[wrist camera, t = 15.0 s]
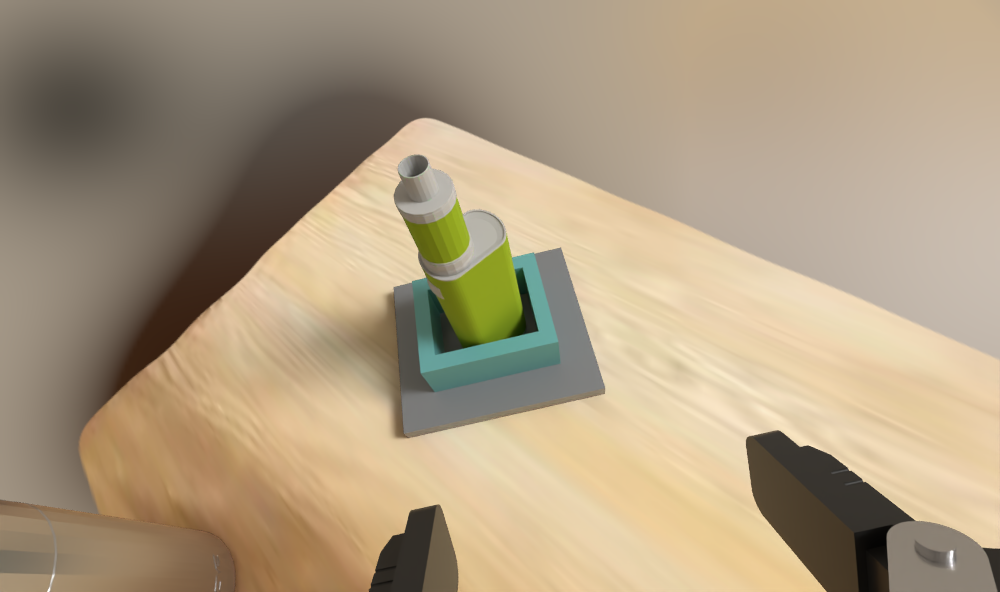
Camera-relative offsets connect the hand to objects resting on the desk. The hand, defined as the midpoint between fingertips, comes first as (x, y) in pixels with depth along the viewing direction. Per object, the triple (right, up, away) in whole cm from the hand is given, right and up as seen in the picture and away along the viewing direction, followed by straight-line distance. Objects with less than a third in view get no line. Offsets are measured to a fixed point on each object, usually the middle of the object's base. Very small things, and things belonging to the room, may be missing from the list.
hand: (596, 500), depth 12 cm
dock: (-3, +1, +30) cm, 30 cm away
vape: (-3, +2, +29) cm, 29 cm away
